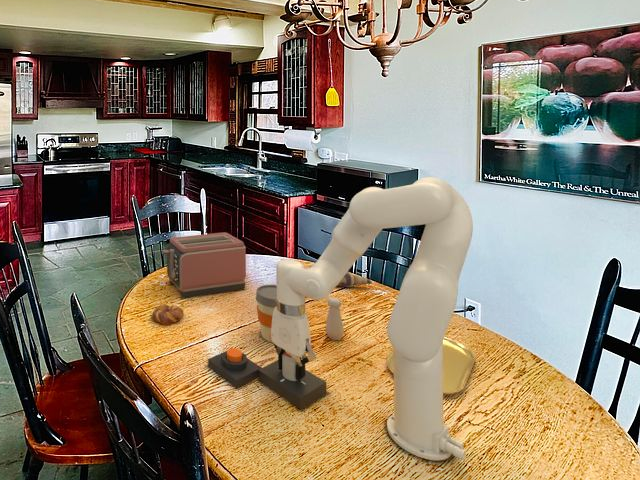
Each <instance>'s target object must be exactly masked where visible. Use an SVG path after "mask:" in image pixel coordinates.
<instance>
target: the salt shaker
mask: <svg viewBox="0 0 640 480" xmlns="http://www.w3.org/2000/svg"><path fill="white" fill-rule="evenodd" d="M326 301H327V306H328V307H329V308H328V312H327V317H326V321H325V322H326V323H325V326H324V327H325V332H326V334H327V337H328V338H329V339H331V340H333V341H340V340H341V339H343V336H344V334H345V328H344V324H343V319H342V314H341V309H340V308H341V306H342V301H341V299H340V298H339V297H335V296H330V297H329V296H328V297H327V300H326Z"/></svg>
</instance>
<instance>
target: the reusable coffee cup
mask: <svg viewBox="0 0 640 480" xmlns="http://www.w3.org/2000/svg"><path fill="white" fill-rule="evenodd" d="M275 296H277V284H263V285H260V286H258V287H257V288H256V293H255V301H256V313H257V321H258V322H259V326H260V333H261V334H260V335H261V337H262V338H263V339H264V340H265V341H267V342H270V343H273V342H272V341H271V339H270V338H269V334H270V333H271V326H272V317H273V312H274V308H275V307H276V306H277V302H276V301H275V300H274V297H275Z"/></svg>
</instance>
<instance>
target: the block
mask: <svg viewBox="0 0 640 480" xmlns="http://www.w3.org/2000/svg"><path fill="white" fill-rule="evenodd" d="M207 365H208V368H210V369H211V370H212V371H213V372H215V373H216V374H218V375H219V376H220V377H221V378H223V380H225V381H227V382H228V383H229V384H231V385H232V387H234V388H236V389H239V388H240V387H242V386H244V385H246V384H248V383H250V382H251V381H254V380H256V379H257V378H259V369H261V368H262V367H261V366H260V365H259V364H257V363H255V362H254V361H252V360H251V359H249V358H248V357H247V355H246V354H245V353H244V352H242V361H240V362H231V361H229V360H228V359H227V350H225V351H223V352H220V353H218V354H216V355H214V356H212V357H209V358H208V359H207Z"/></svg>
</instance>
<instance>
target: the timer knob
mask: <svg viewBox="0 0 640 480" xmlns="http://www.w3.org/2000/svg"><path fill="white" fill-rule="evenodd" d="M286 352H287V353H286ZM286 352H284V354H283V355H282V374H283V376H284V377H285V378H286V379H288V380H291V381H298V380H296V365H297V364H298V363H297V359H296V356H295V355H293V354H291V353H289V352H288V351H286Z"/></svg>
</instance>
